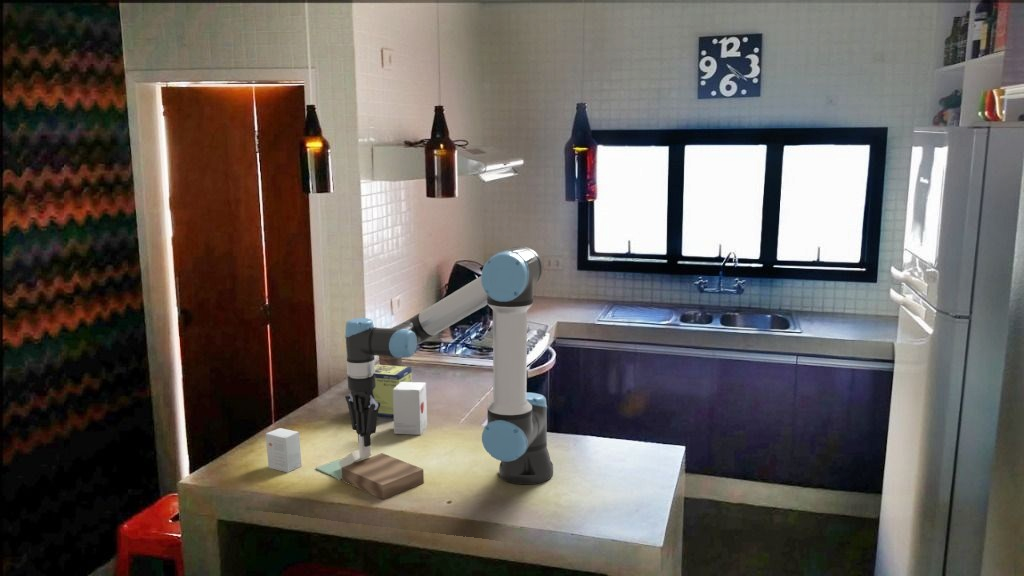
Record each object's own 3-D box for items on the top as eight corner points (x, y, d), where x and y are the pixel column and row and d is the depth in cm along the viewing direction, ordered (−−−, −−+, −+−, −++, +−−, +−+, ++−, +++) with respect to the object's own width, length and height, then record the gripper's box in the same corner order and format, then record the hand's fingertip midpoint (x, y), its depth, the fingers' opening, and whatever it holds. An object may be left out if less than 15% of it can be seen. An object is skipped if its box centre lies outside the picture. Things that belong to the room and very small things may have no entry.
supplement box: (420, 435, 261) (419, 390, 258) (393, 434, 262) (391, 389, 260) (428, 425, 270) (426, 381, 267) (401, 424, 271) (400, 381, 268)
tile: (372, 454, 232) (368, 446, 233) (355, 460, 228) (351, 452, 228) (359, 464, 237) (355, 456, 238) (342, 470, 233) (338, 462, 233)
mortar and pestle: (401, 379, 323) (399, 329, 320) (413, 383, 317) (412, 333, 313) (376, 385, 316) (373, 334, 312) (388, 390, 309) (386, 338, 306)
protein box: (401, 419, 276) (399, 374, 274) (359, 415, 281) (357, 371, 278) (414, 409, 286) (412, 366, 283) (373, 406, 291) (371, 363, 288)
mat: (380, 465, 237) (380, 463, 237) (340, 480, 227) (340, 478, 227) (355, 455, 245) (355, 453, 245) (315, 469, 235) (315, 467, 235)
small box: (302, 466, 237) (299, 431, 236) (287, 473, 233) (285, 437, 231) (282, 461, 241) (279, 427, 240) (267, 467, 237) (265, 433, 235)
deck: (423, 482, 224) (423, 469, 224) (383, 499, 214) (382, 485, 214) (382, 466, 237) (382, 452, 236) (342, 481, 226) (341, 467, 226)
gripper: (387, 376, 224) (390, 458, 228) (358, 367, 232) (361, 446, 236) (364, 382, 218) (368, 466, 222) (335, 373, 227) (340, 454, 231)
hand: (365, 456), depth 229 cm, fingers closed
